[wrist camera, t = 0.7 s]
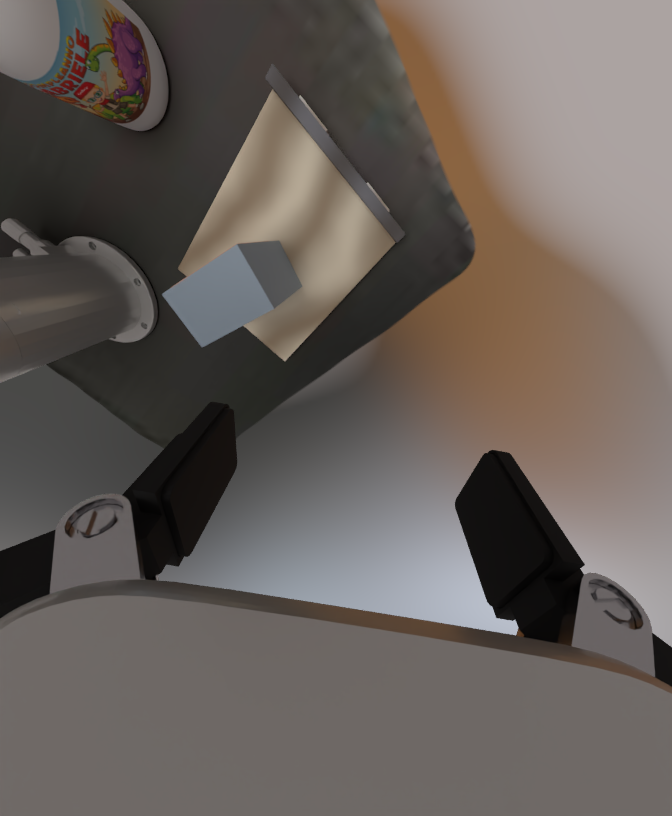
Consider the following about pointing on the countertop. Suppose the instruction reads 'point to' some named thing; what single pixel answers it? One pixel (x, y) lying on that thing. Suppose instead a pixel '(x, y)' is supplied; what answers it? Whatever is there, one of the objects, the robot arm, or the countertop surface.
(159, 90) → the milk bottle
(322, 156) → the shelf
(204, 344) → the carton
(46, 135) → the countertop surface
